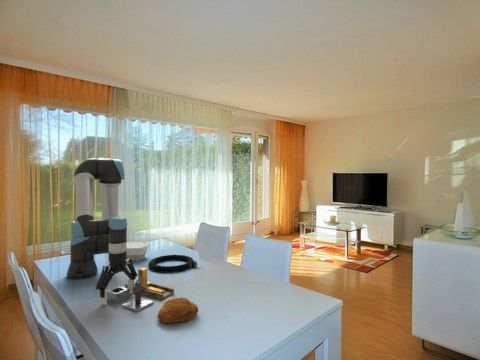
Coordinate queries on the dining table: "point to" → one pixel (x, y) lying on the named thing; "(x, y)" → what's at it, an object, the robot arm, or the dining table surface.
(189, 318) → the croissant
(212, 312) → the dining table surface
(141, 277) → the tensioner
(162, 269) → the cable lock
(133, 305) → the square plate with peg
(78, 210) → the robot arm
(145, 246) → the bowl
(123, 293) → the square hollow frame
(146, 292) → the rail
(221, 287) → the dining table surface
